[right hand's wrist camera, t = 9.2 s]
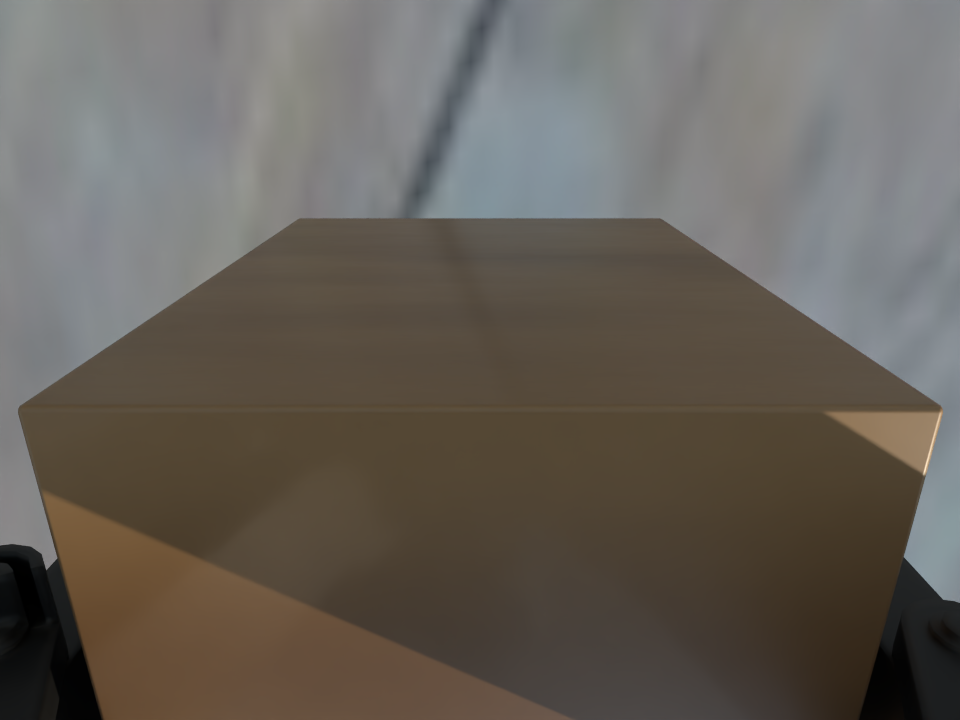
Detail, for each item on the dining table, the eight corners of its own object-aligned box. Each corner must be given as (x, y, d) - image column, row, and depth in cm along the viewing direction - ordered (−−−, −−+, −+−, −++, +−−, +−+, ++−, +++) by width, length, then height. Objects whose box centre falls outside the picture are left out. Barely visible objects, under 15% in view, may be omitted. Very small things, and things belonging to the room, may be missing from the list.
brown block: (630, 547, 17) (784, 1004, 9) (329, 547, 17) (177, 1005, 9) (662, 218, 14) (946, 407, 6) (297, 218, 14) (13, 407, 6)
